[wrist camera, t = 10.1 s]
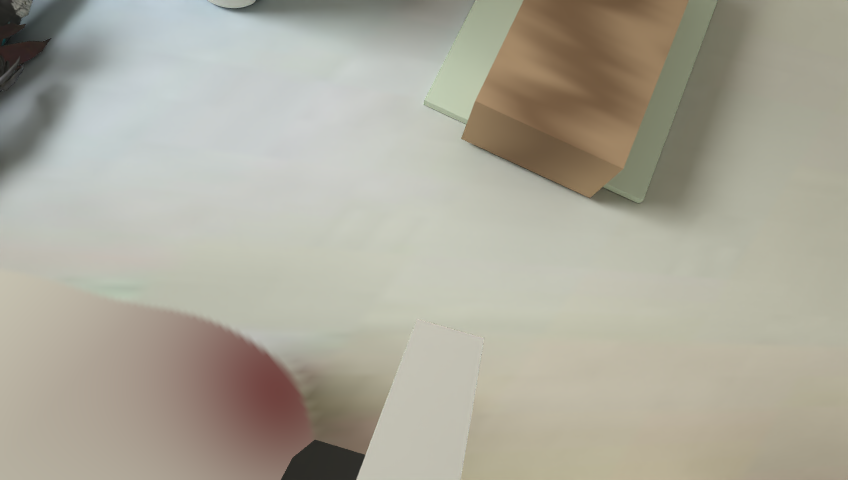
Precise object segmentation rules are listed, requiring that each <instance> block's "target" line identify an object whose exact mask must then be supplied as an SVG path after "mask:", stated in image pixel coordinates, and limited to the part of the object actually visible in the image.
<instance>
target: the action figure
mask: <svg viewBox="0 0 848 480" xmlns="http://www.w3.org/2000/svg"><path fill="white" fill-rule="evenodd" d="M32 1H33V0H0V92H1V91H2V90H6V91H7V90H8V89H9V88H10V87H11V86H12V85H13V84H14V83H15V81H16V80H17V78H18V77H19V75H20V74H21V72H22V71H23V67H24V62H26V61H28V60H30V59H32V58H33V57H35V56H36V55H37V54H39V53H40V52H41V51H43V49H44V48H45V46H46V45H47V43H48V42H49V41H50V39H51V38H50V39H47V40H45V41H27V42H21V43H15V44H9V45H4V44H5V43H6V42H7V40H8V39H9V38H10V36H11V35H14V34H16V33H17V32H19V31H20V30H22V29H23V28H24V27H25V25H26V24H22V25H19V24H20V22H21V19H22V18H23V17H25V16H27V15H28V14H29V11H30V8H31V5H32ZM3 45H4V46H3ZM22 63H23V64H22ZM20 64H22V66H18V65H20ZM19 68H20V69H19ZM17 69H18V70H17ZM15 70H17V71H16V72H15V73H14V74H13V72H14V71H15ZM12 74H13V75H12ZM11 75H12V76H11Z"/></svg>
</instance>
